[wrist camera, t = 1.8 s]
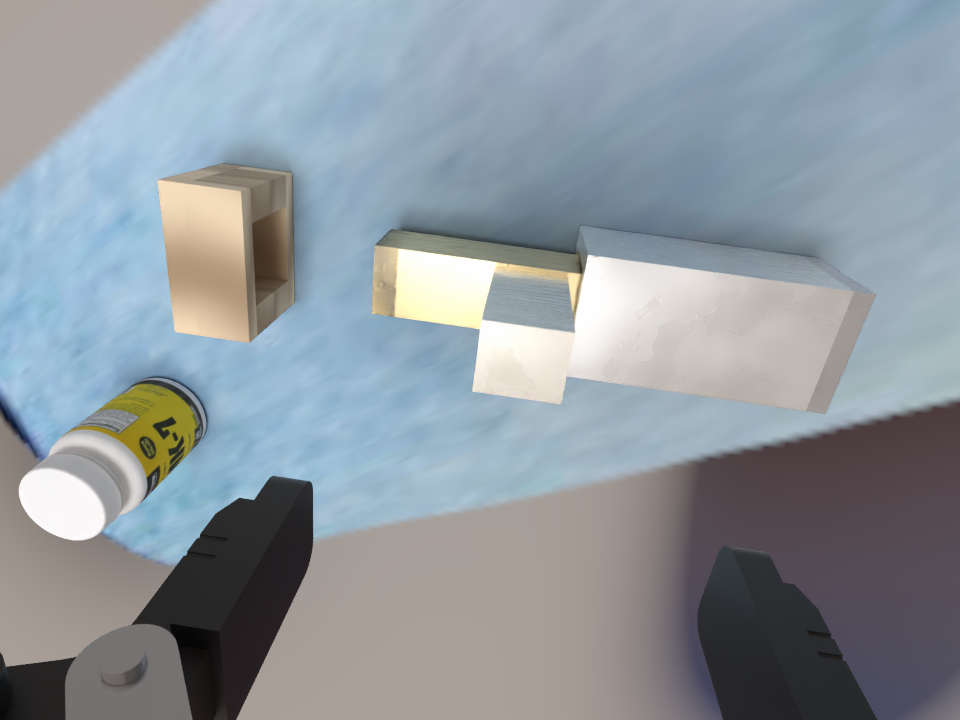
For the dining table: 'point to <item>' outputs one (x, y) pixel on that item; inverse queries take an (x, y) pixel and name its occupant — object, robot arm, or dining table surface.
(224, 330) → the socket
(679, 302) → the white plaster block
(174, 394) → the supplement bottle
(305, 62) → the dining table surface
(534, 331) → the tan piece
